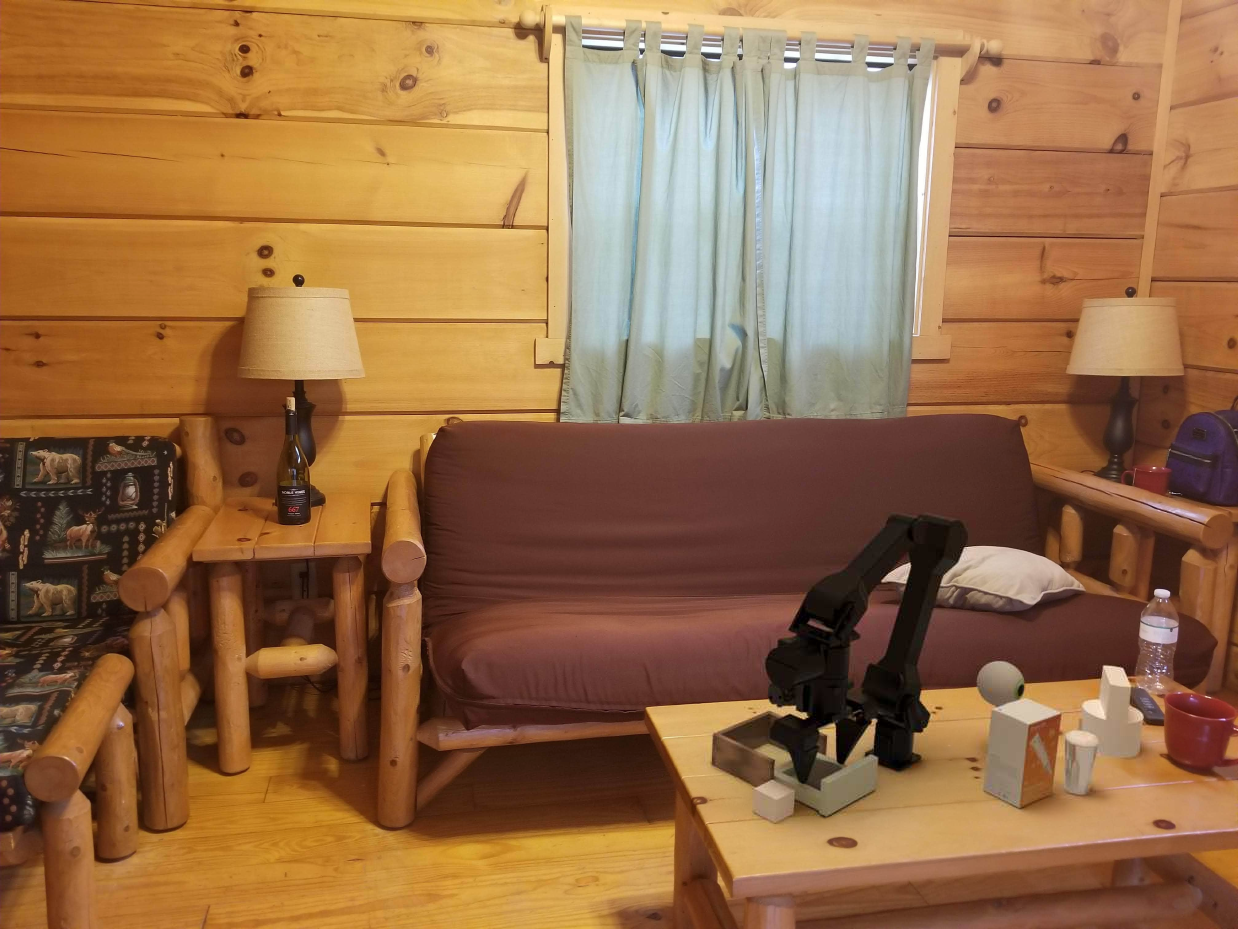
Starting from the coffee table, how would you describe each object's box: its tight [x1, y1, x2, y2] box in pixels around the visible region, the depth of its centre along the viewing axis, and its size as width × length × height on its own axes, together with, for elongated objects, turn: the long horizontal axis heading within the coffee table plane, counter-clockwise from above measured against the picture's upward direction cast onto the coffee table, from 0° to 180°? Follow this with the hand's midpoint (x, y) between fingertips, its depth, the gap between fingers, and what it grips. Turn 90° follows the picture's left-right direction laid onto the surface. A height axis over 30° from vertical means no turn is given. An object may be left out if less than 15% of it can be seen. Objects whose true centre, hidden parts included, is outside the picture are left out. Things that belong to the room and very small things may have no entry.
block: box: [752, 780, 795, 824], centre depth 139 cm, size 4×4×4 cm
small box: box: [982, 697, 1062, 809], centre depth 145 cm, size 8×6×13 cm
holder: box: [711, 710, 828, 788], centre depth 153 cm, size 12×13×5 cm
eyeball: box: [976, 660, 1026, 708], centre depth 158 cm, size 7×7×15 cm
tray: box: [774, 753, 879, 817], centre depth 146 cm, size 11×12×5 cm
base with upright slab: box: [1080, 665, 1144, 759], centre depth 162 cm, size 9×9×12 cm
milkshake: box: [1063, 718, 1099, 796], centre depth 147 cm, size 4×5×10 cm
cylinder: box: [806, 760, 842, 791], centre depth 146 cm, size 6×6×2 cm
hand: (821, 773), depth 146 cm, fingers open, 9 cm apart
